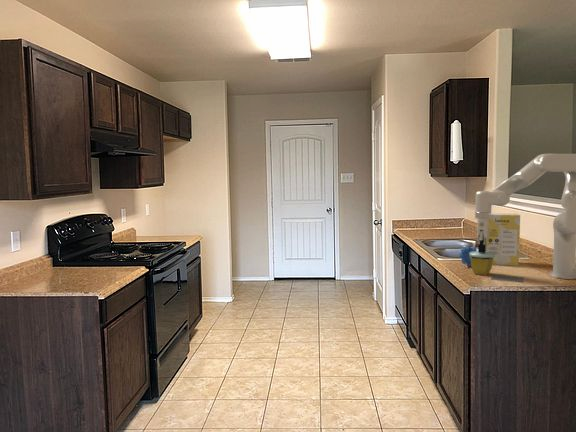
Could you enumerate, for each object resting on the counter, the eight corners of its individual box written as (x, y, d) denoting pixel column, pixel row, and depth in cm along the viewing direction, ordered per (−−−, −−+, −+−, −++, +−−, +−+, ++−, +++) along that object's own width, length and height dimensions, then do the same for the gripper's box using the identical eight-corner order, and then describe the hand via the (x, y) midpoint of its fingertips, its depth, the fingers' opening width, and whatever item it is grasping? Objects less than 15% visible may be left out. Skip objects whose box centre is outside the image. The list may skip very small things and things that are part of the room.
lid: (496, 254, 244) (496, 242, 243) (493, 258, 233) (493, 246, 233) (471, 252, 249) (471, 241, 249) (467, 256, 239) (468, 244, 238)
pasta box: (515, 262, 274) (516, 213, 271) (518, 265, 264) (520, 215, 261) (481, 260, 279) (482, 213, 276) (483, 264, 269) (484, 214, 266)
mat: (524, 278, 233) (524, 277, 233) (523, 283, 222) (523, 282, 222) (493, 275, 240) (493, 274, 240) (490, 280, 229) (490, 279, 229)
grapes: (461, 268, 257) (461, 246, 256) (457, 266, 264) (458, 244, 262) (483, 268, 256) (483, 246, 255) (479, 266, 263) (479, 244, 261)
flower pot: (475, 272, 248) (475, 255, 247) (493, 274, 243) (493, 256, 242) (469, 275, 242) (470, 257, 241) (487, 277, 236) (488, 259, 235)
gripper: (489, 217, 230) (488, 254, 232) (492, 214, 245) (491, 249, 247) (472, 216, 234) (472, 253, 236) (477, 213, 248) (476, 248, 250)
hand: (482, 251), depth 241 cm, fingers open, 3 cm apart
